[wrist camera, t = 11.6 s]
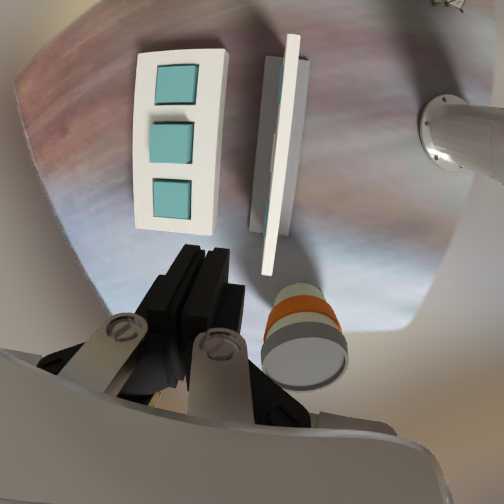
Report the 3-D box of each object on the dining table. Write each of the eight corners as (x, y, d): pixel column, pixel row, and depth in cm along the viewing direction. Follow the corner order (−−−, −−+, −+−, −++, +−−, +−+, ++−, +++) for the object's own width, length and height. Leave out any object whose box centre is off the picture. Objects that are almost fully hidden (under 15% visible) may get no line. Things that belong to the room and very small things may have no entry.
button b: (194, 123, 35) (187, 124, 32) (192, 159, 38) (185, 163, 35) (159, 123, 35) (150, 124, 32) (158, 158, 38) (149, 162, 35)
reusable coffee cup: (259, 277, 48) (253, 340, 35) (334, 269, 47) (354, 330, 33) (268, 332, 54) (265, 396, 40) (334, 326, 52) (347, 388, 39)
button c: (194, 178, 40) (187, 183, 37) (193, 210, 43) (187, 218, 39) (162, 176, 40) (153, 181, 37) (162, 208, 43) (154, 215, 40)
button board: (229, 54, 33) (225, 48, 29) (217, 225, 45) (212, 236, 41) (149, 57, 33) (138, 53, 30) (145, 218, 45) (135, 228, 41)
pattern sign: (309, 62, 33) (325, 39, 21) (288, 233, 44) (292, 278, 33) (265, 56, 33) (262, 31, 21) (249, 229, 45) (240, 272, 33)
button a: (201, 69, 33) (195, 65, 30) (198, 102, 35) (191, 102, 32) (167, 70, 33) (158, 67, 30) (164, 103, 35) (155, 102, 32)
